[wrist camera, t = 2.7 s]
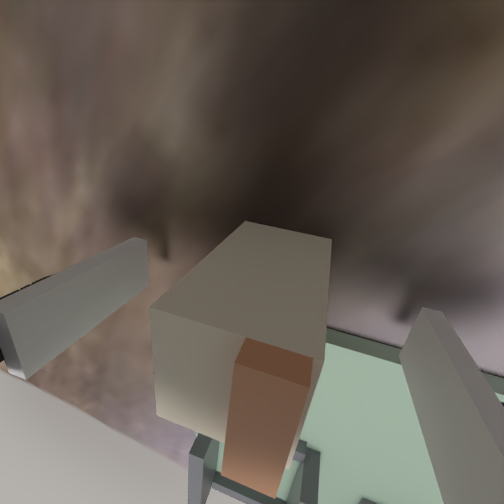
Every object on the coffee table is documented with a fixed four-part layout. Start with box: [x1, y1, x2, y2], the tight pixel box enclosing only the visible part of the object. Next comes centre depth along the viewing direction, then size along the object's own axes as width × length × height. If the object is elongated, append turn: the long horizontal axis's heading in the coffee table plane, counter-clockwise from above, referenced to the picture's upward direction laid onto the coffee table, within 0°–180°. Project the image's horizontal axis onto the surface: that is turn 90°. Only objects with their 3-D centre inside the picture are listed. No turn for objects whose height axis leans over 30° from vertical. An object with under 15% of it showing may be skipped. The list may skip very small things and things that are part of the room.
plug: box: [150, 221, 332, 499], centre depth 10 cm, size 4×4×9 cm
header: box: [188, 433, 321, 504], centre depth 19 cm, size 9×8×3 cm
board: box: [196, 328, 504, 504], centre depth 18 cm, size 18×18×1 cm
